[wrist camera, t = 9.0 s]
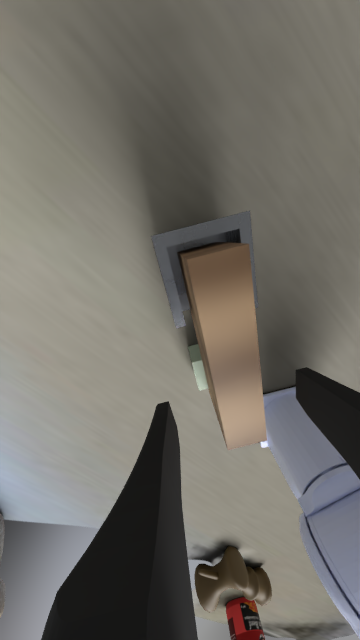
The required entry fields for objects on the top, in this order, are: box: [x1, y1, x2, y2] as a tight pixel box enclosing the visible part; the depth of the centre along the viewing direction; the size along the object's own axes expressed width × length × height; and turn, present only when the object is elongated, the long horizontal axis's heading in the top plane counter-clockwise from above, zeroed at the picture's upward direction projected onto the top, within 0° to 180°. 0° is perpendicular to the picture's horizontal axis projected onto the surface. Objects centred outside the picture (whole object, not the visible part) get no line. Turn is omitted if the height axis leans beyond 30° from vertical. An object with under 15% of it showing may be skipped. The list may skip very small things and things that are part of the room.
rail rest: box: [188, 344, 208, 391], centre depth 21 cm, size 4×5×3 cm
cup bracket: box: [151, 211, 258, 328], centre depth 15 cm, size 6×6×6 cm
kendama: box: [195, 546, 272, 613], centre depth 40 cm, size 6×10×20 cm
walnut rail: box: [177, 242, 267, 450], centre depth 15 cm, size 14×3×6 cm, turn 13°
